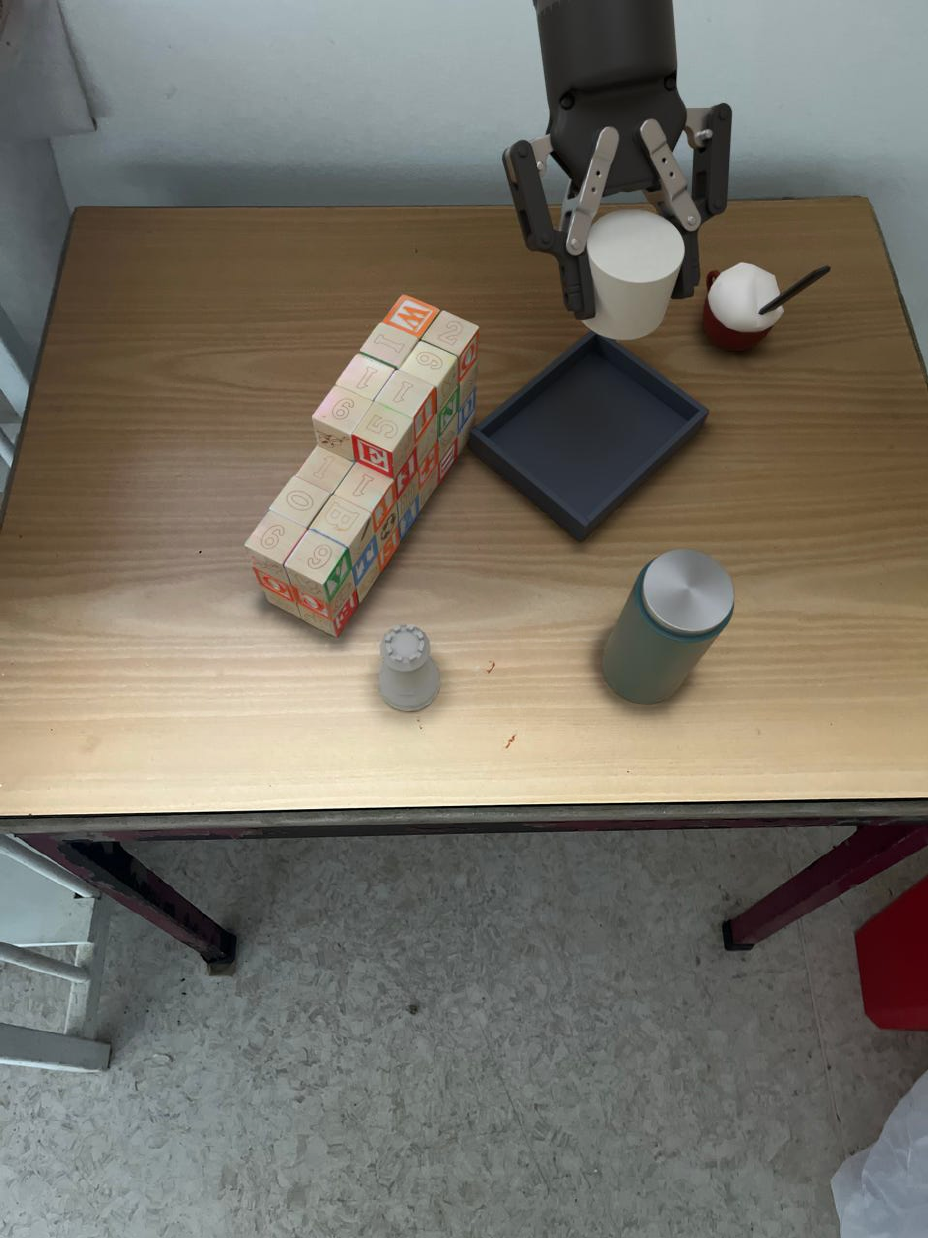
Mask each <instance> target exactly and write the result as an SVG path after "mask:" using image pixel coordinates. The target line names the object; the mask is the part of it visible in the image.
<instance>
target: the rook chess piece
mask: <svg viewBox="0 0 928 1238" xmlns="http://www.w3.org/2000/svg"><path fill="white" fill-rule="evenodd" d="M379 651H380V652H379V653H380V656H381V659H382V660H383V662H382V663H381V666H380V668H379V671H378V674H377V675H378V678H377V679H378V681H377V682H378V691H379V692H380V695H381V697H382V699H383V701H385V702H386V703H387V704H388V705H390V706H391V707H392V708H393V709H397V710H400V711H403V712H411V711H412V712H413V711H418V710H421V709H423V708H425V707H427V706H429V705H430V703H431V702H433V700H434V699H435V698H436V697H437V696H438V693H439V690H440V687H441V677H440V675H441V674H440V671H439V668H438V666H437V664H436V662H435V660H434V659H433V658H432V657H431V656H430V653H431V651H432V650H431V641H430V639H429V637H428V635H427V634H426V632H425V631H423V630H422V629H421V628H419V626H415V625H412V624H410V623H409V624H408V623H406V624H398V625H395V626H393V627H392V628H389V630H388V631H386V633H385V634H384V635H383V636H382V638H381V641H380V644H379Z"/></svg>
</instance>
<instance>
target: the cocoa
mask: <svg viewBox="0 0 928 1238" xmlns="http://www.w3.org/2000/svg"><path fill="white" fill-rule="evenodd" d="M831 269H832V267H831V266H830V265H827V264H826V265H824V266H821V267H819V268H816V269H814V270H812V271H811V272H809V273H808V274H807V275H805V276H804V277H802V278H801V279H799V280H798V281H797V282H795V283H794V284H793V285H791V286H790V287H789V288H787V289H786V290H784V291H783V292H780V289H779V286H778V283H777V278H776V275H775V274H773V273H771V272H769V271H767V270H765V269H763V268H761V267H759V266H757V265H755V264H753V263H747V262H742V261H741V262H739V263H737V264H735V265H733V266H731V267H729V268H727V269H725V270H724V271H721V272H720V270H718V269H714V270H711V271H709V272H708V273H707V275H706V277H705V278H706V280H705V284H706V285H705V286H706V291H707V293H706V295H705V298H704V303H703V307H702V308H703V309H702V310H703V311H702V318H701V319H702V320H701V326H702V328H703V330H704V333H705V334H706V337H707V339H708V340H709V341H710V342H711V343H713V344H714V345H715V346H716V347H718V348H719V349H723V350H726V351H728V352H742V351H747V350H748V349H751V348H753V347H755V346H757V345H758V344H760V343H761V342H762V341H763V340H764V339H765V338H766V337H767V336H768V334H769V333H770V331H771V330H772V329H773V327H774V326H775V325H776V323H777V322H778V320H779V319H780V318H781V317H782V315H783V314H784V312H785V310H784V307H783V305H784V304H786V303H787V302H789V301H790V300H791V299H793V298H794V297H795V296H798V294H800V293H801V292H803V291H805V290H806V289H807V288H808V287H810V286H811V285H813V284H814V283H815V282H817V281H818V280H820V279H821V278H822V277H824V276H826V275H828V273H830V272H831Z"/></svg>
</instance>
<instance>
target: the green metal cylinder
mask: <svg viewBox="0 0 928 1238" xmlns="http://www.w3.org/2000/svg"><path fill="white" fill-rule="evenodd" d="M734 609H735V588H734V584H733V580H732V577H731V576H730V574H729V572H728V571H727V570H726V568H725V567H724V566H723V565H722V564H721V563H720V562H719V561H718V560H717V559H716V558H714V557H712V556H711V555H709V554H707V553H705V552H703V551H701V550H697V549H691V548H675V549H672V550H671V549H670V550H668V551H666V552H663V553H662V554H659V555H658V556H657V557H654V558H653V559H651V560H650V561H648V562H647V563H646V564H645V565H644V566H643V567H642V568H641V570H640V572H639V574H638V575H637V578H636V580H635V582H634V583H633V586H632V588H631V590H630V592H629V595H628V596H627V599H626V601H625V603H624V605H623V608H622V610H620V611H621V612H620V613H619V616H618V618H617V620H616V622H615V624H614V626H613V628H612V631H611V633H610V635H609V637H608V639H607V640H606V644H605V645H604V648H603V650H602V654H601V659H600V660H601V663H600V664H601V670H602V674H603V677H604V680H605V682H607V684H608V685H609V687H610V689H612V691H614V693H616V694H617V695H618V696H619V697H621V698H622V699H624V700H627V701H629V702H632V703H634V704H640V705H652V704H657V703H661V702H663V701H665V700H667V699H668V698H670V697H671V696H672V695H673V694H675V692H676V691H677V690H678V689H679V687H680V686H681V685H682V684H683V682H684V681H685V680H686V678H687V677H688V676H689V674H690V673H691V672H692V671H693V669H695V667H696V665H697V664H698V663H699V662H700V660H701V659H702V658H703V657H704V655H705V654H706V653H707V652H708V650H709V649H710V648H711V646H712V645H713V644H714V642H716V640H717V638H718V637H719V636H720V635H721V633H723V631H724V630H725V629H726V627H727V626H728V625H729V623H730V621H731V619H732V616H733V614H734Z"/></svg>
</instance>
